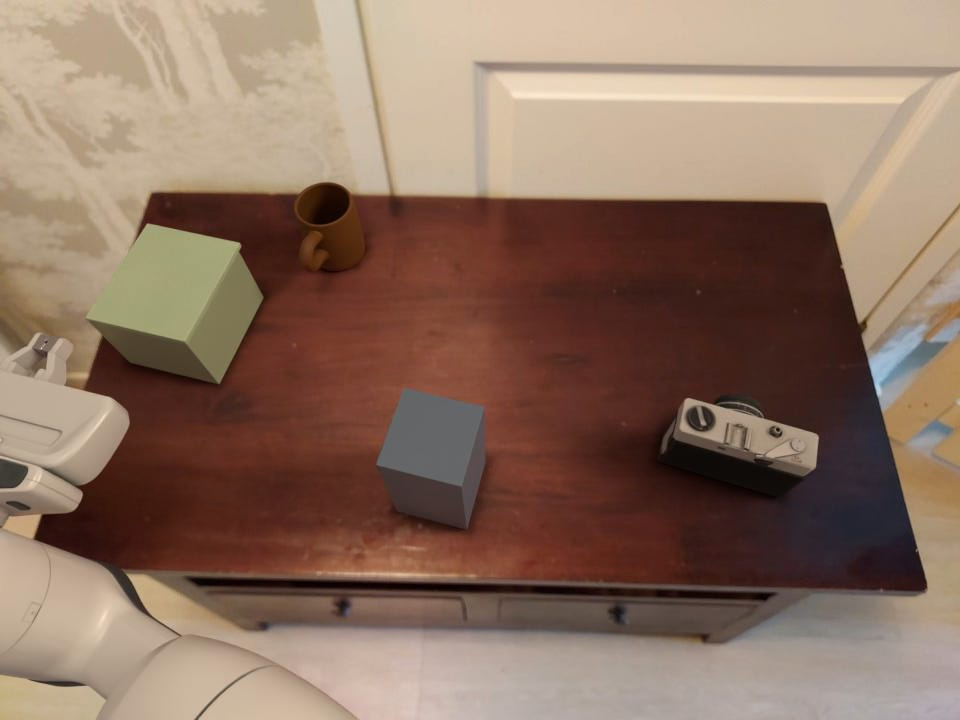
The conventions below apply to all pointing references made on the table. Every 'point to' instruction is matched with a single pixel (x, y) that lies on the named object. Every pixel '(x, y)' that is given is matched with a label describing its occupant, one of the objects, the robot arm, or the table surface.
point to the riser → (434, 457)
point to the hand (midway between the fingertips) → (56, 338)
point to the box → (199, 332)
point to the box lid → (165, 283)
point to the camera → (738, 445)
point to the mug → (328, 228)
